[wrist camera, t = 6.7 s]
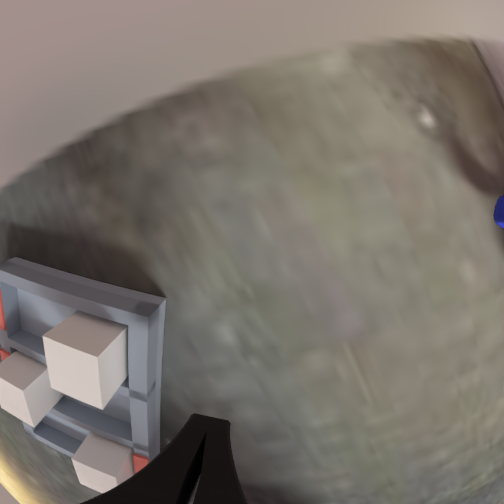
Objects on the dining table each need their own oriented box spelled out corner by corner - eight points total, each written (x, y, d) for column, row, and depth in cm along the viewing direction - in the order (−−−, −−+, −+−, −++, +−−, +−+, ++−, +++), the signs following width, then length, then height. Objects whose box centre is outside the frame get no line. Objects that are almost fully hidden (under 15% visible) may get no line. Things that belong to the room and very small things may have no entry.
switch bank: (166, 298, 16) (147, 318, 13) (160, 464, 19) (150, 490, 16) (16, 256, 16) (-12, 266, 13) (41, 416, 19) (25, 434, 16)
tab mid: (59, 358, 16) (23, 390, 12) (65, 393, 17) (34, 427, 13) (26, 343, 16) (-11, 370, 12) (33, 378, 17) (1, 407, 13)
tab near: (134, 319, 15) (97, 357, 11) (134, 366, 16) (102, 409, 12) (86, 304, 15) (42, 335, 11) (88, 351, 16) (51, 387, 12)
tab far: (137, 435, 17) (115, 477, 13) (140, 461, 17) (121, 500, 14) (97, 420, 17) (71, 458, 13) (102, 447, 18) (80, 483, 14)
